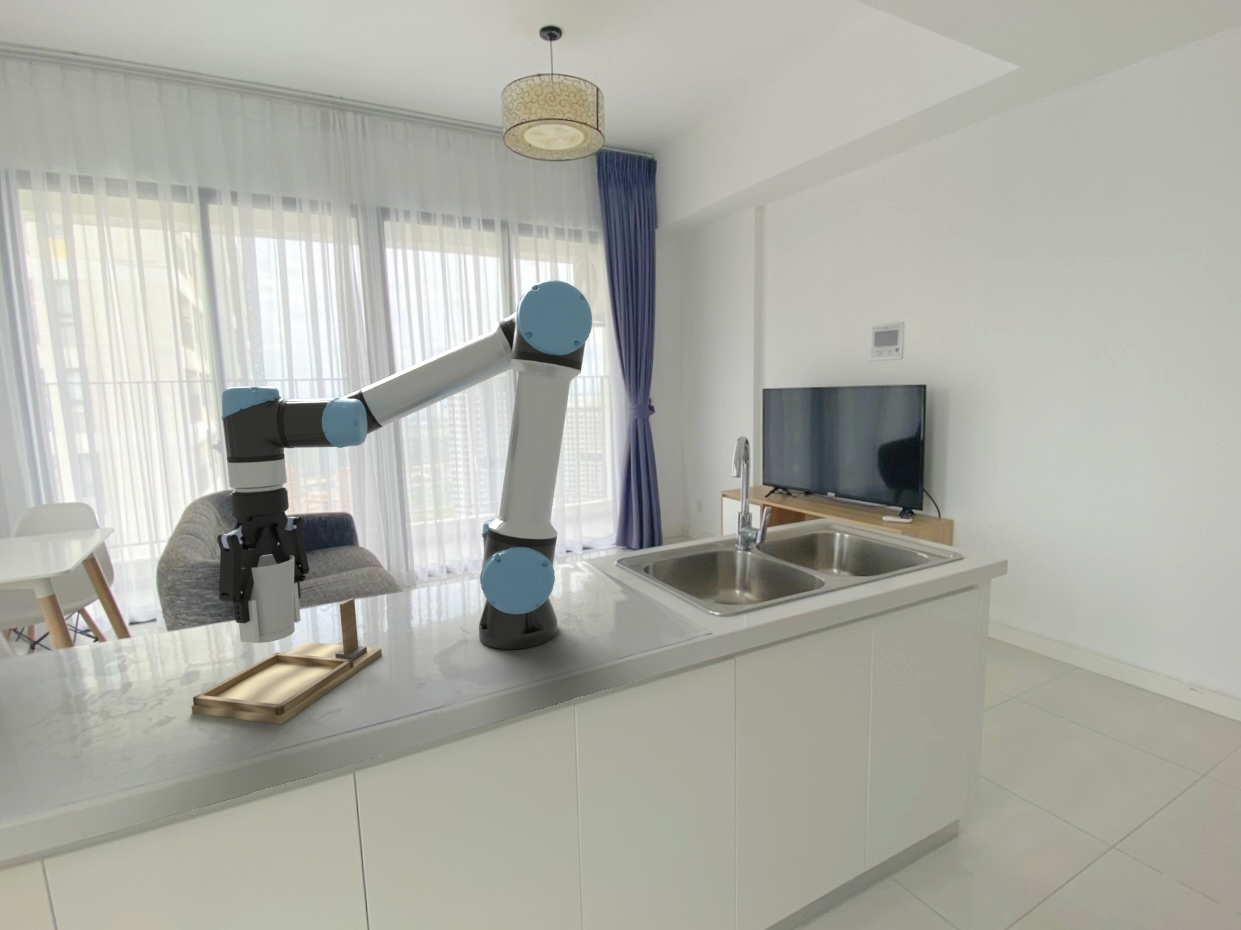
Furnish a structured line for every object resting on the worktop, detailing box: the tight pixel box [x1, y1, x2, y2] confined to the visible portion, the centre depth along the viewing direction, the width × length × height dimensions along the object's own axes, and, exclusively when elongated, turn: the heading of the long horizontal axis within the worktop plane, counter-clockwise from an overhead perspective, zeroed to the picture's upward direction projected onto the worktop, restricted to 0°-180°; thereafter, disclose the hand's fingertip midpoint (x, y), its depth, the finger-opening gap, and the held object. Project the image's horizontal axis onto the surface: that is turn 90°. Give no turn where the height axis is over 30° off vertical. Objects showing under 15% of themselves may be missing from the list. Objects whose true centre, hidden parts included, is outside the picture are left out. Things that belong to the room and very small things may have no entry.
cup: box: [241, 553, 296, 644], centre depth 91 cm, size 8×8×12 cm
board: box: [191, 597, 383, 725], centre depth 96 cm, size 16×23×11 cm
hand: (271, 630), depth 92 cm, fingers closed on cup, 7 cm apart
